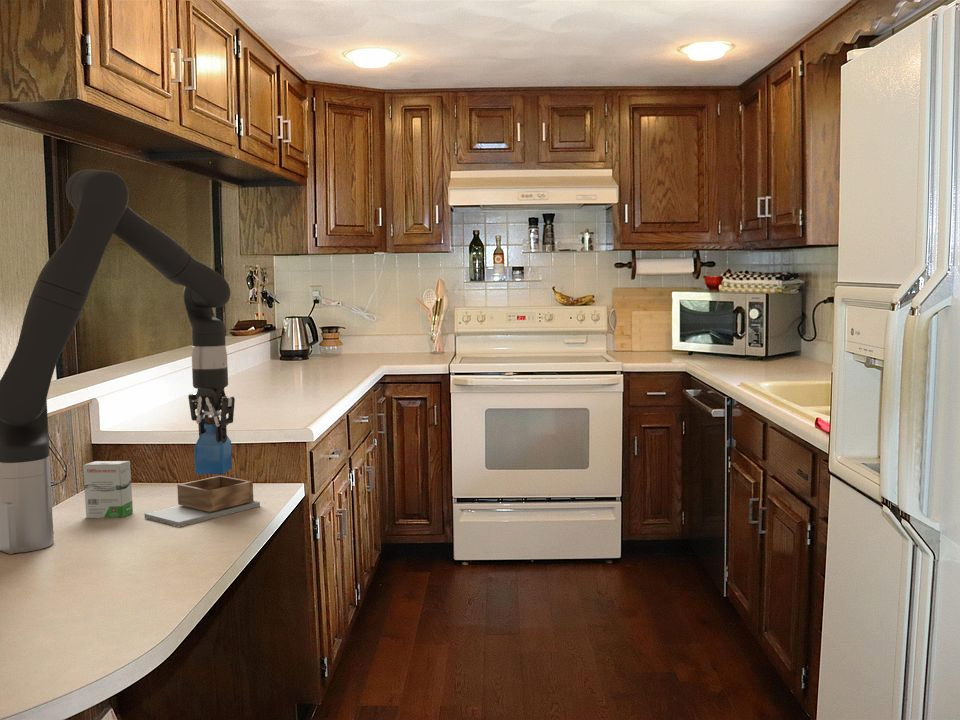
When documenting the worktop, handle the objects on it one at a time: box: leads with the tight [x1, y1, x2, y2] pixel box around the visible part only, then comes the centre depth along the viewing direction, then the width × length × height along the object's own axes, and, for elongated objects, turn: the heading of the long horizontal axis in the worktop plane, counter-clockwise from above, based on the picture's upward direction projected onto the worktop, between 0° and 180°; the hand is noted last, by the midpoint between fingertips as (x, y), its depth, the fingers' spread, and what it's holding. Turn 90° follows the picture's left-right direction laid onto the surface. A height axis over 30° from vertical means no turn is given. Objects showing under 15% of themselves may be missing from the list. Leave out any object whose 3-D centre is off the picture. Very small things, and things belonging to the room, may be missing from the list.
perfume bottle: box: [194, 416, 233, 475], centre depth 193 cm, size 6×6×12 cm
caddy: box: [177, 475, 254, 512], centre depth 194 cm, size 12×12×4 cm
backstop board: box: [144, 482, 261, 527], centre depth 192 cm, size 21×12×5 cm, turn 143°
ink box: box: [82, 460, 134, 519], centre depth 190 cm, size 9×5×12 cm, turn 84°
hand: (212, 441), depth 193 cm, fingers closed on perfume bottle, 5 cm apart
